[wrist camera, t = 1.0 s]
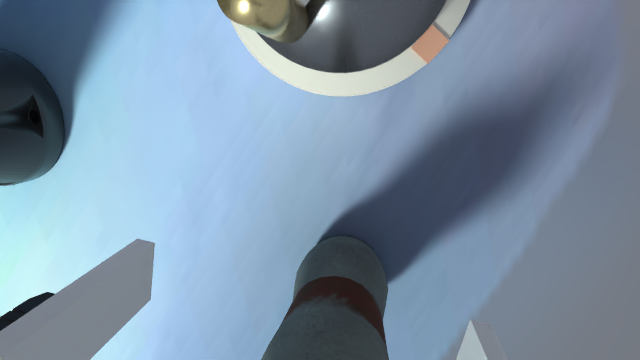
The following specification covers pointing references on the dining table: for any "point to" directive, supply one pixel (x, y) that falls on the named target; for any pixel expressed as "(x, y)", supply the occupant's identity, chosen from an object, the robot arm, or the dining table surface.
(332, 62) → the handwheel
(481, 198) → the dining table surface
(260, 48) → the wheel base
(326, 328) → the bottle
